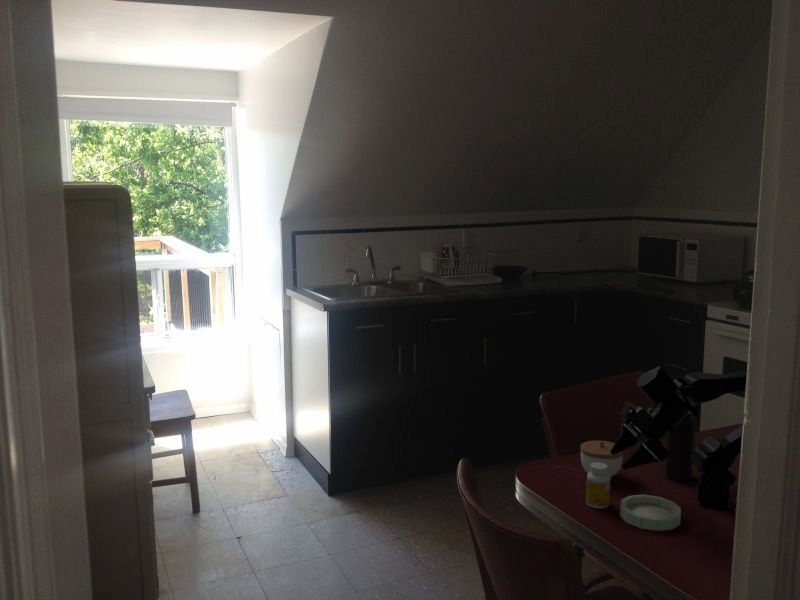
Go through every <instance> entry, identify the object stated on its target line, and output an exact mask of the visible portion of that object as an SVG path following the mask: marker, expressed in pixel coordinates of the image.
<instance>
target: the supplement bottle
mask: <svg viewBox="0 0 800 600" xmlns="http://www.w3.org/2000/svg"><path fill="white" fill-rule="evenodd" d="M590 471H591V472H589V473H587V476H586V487H585V488H586V490H585V491H586V492H585V503H586V505H587V506H588V507H591V508H593V509H600V510H601V509H605V508H606V509H607V508H608V507H609V506H610V495H611V494H610V493H611V479H610V476H609V475H608V474H607V471H608V466H607V465H606V464H604V463H598V462H596V463H592V464H591V465H590Z"/></svg>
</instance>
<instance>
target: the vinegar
mask: <svg viewBox="0 0 800 600" xmlns="http://www.w3.org/2000/svg"><path fill="white" fill-rule="evenodd" d="M692 415H693V414H692V413H690V412H689V413H688V414H687V415H686V416H685V417H684V418H683V419H682V420H680V421H679V422H678V423H677V424H675V426H674V427H673V429H674V430H675V431H674V432H673V433H671V432H670V431H668V432H667V433H666V435H665V436H666V437H665V438H666V439H665V448H666V449H667V450H668V451H669V455H668V458H667V459H666V460H664V476H665V477H666V478H667V479H668V480H672V481H675V482H689V481H690V480H692V479H693V469H694V464H693V462H692V459H691V455H692V451H693V449H695V440H696V439H695V438H696V421H695V420H694V419H693V418H692V417H691V416H692Z"/></svg>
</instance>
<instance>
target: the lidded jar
mask: <svg viewBox="0 0 800 600" xmlns="http://www.w3.org/2000/svg"><path fill="white" fill-rule="evenodd" d="M614 444H615V442H612V441H607V440H590V441H589V440H588V441H584V442H583V443H581V444H580V447H579V448H580V461H581V465H582V467H583V470H584V471H585V472H586V473H587V474H588V473H589V472H591V471H590V465H591V464H592V463H596V462H598V463H604V464H606V465H607V466H608V471H607V474H608V475H609V476H610V480H612V479H613V478H612V477H615V476H616V474H618V473H619V471H620V469H621V468H622V465H623V464H622V463H623V455H624V450H623V451H621V452H619V453H617V454H615V455H612V454H611V453H610V451H611V449H612V447H613V446H614ZM611 478H612V479H611Z"/></svg>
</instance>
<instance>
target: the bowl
mask: <svg viewBox="0 0 800 600" xmlns="http://www.w3.org/2000/svg"><path fill="white" fill-rule="evenodd" d="M619 516H620V518H621V519H622V520H623V521H624V522H625V523H626V524H629V525H632V526H634V527H636V528H639V529H641V530H642V529H643V530H649V531H655V532H656V531H657V532H659V531H671V530H674V529H676V528H677V527H679V526H681V521H682V520H681V516H682V508H681V506H679V505H678V504H676V503H675V502H674V501H673V500H669V499H667V498H664V497H662V496H658V495H657V496H655V495H652V494H651V495H650V494H649V495H648V494H635V495H628V496H626V497H624V498H622V499H621V501H620V506H619Z"/></svg>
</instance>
